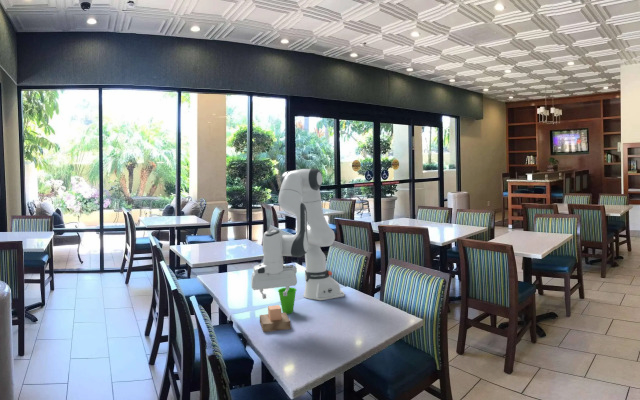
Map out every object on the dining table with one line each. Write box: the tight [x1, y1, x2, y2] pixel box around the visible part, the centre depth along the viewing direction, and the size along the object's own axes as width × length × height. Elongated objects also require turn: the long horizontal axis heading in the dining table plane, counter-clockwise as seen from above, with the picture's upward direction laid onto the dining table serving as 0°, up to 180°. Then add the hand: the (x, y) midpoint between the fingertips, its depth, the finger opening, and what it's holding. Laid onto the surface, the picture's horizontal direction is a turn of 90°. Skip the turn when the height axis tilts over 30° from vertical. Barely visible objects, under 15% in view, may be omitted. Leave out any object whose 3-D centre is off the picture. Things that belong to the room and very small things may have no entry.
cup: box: [277, 286, 297, 315], centre depth 209 cm, size 9×9×11 cm
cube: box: [267, 304, 282, 321], centre depth 191 cm, size 5×5×5 cm
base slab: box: [259, 311, 292, 333], centre depth 192 cm, size 12×12×4 cm
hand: (274, 297), depth 191 cm, fingers open, 8 cm apart
